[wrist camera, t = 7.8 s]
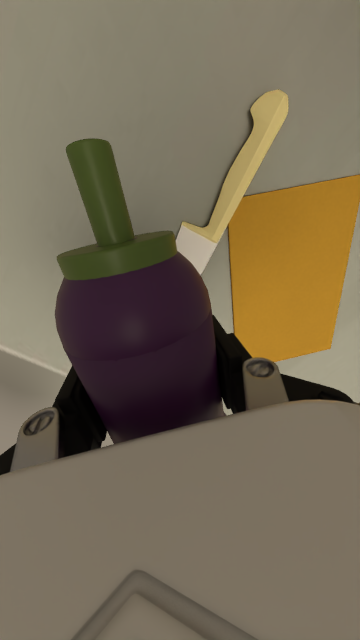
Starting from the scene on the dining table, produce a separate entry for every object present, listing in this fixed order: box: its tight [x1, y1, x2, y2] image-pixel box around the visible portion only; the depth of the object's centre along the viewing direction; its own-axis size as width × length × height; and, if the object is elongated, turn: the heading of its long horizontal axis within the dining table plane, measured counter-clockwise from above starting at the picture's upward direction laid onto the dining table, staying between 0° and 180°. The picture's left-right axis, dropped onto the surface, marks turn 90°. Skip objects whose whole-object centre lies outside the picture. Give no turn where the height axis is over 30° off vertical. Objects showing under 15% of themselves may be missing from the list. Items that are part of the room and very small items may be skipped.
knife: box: [176, 89, 289, 276], centre depth 24 cm, size 1×32×5 cm
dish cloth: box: [228, 175, 360, 362], centre depth 28 cm, size 24×16×1 cm, turn 10°
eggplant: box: [55, 139, 226, 444], centre depth 9 cm, size 16×6×6 cm, turn 10°
